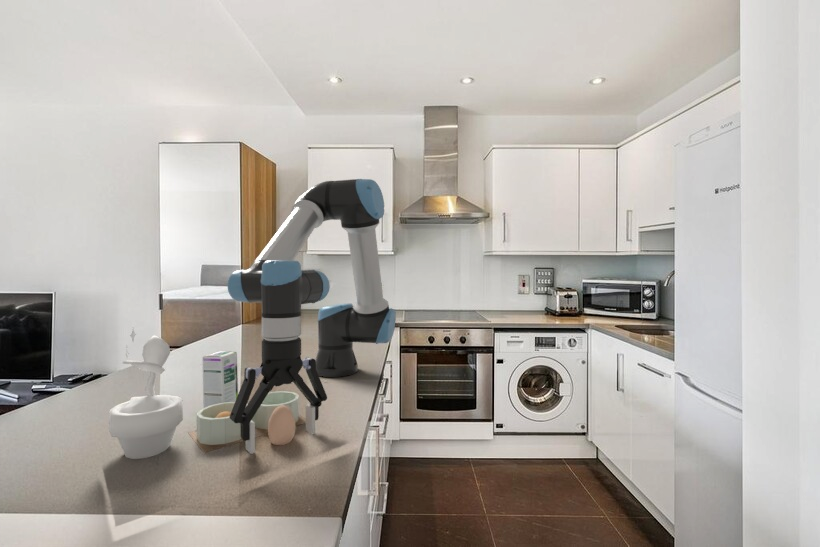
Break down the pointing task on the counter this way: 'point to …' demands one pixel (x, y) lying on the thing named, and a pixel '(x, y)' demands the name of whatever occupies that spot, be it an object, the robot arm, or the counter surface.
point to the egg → (281, 426)
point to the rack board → (258, 433)
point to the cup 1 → (217, 425)
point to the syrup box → (220, 378)
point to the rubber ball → (223, 414)
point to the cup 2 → (272, 403)
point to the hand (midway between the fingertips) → (282, 445)
